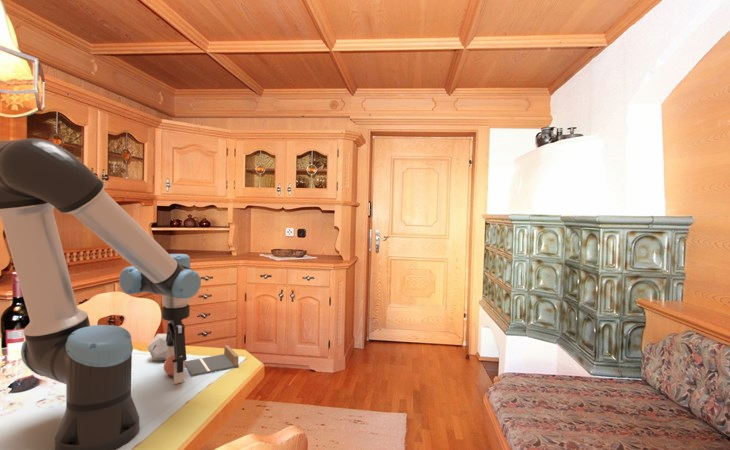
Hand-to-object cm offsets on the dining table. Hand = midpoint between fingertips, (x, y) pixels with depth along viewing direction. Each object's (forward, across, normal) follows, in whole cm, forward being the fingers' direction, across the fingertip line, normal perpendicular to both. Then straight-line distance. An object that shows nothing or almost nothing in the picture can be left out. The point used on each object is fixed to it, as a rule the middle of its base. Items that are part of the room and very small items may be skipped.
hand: (175, 374), depth 115 cm
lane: (0, +2, -11) cm, 11 cm away
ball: (0, 0, 0) cm, 0 cm away
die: (0, +16, +1) cm, 16 cm away
